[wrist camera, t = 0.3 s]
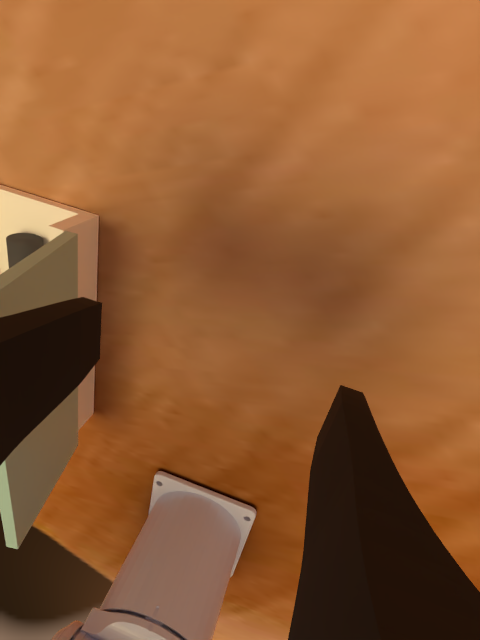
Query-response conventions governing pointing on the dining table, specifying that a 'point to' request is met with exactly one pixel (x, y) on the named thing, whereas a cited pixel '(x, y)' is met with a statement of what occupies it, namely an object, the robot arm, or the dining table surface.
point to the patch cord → (22, 246)
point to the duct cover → (62, 423)
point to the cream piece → (49, 222)
